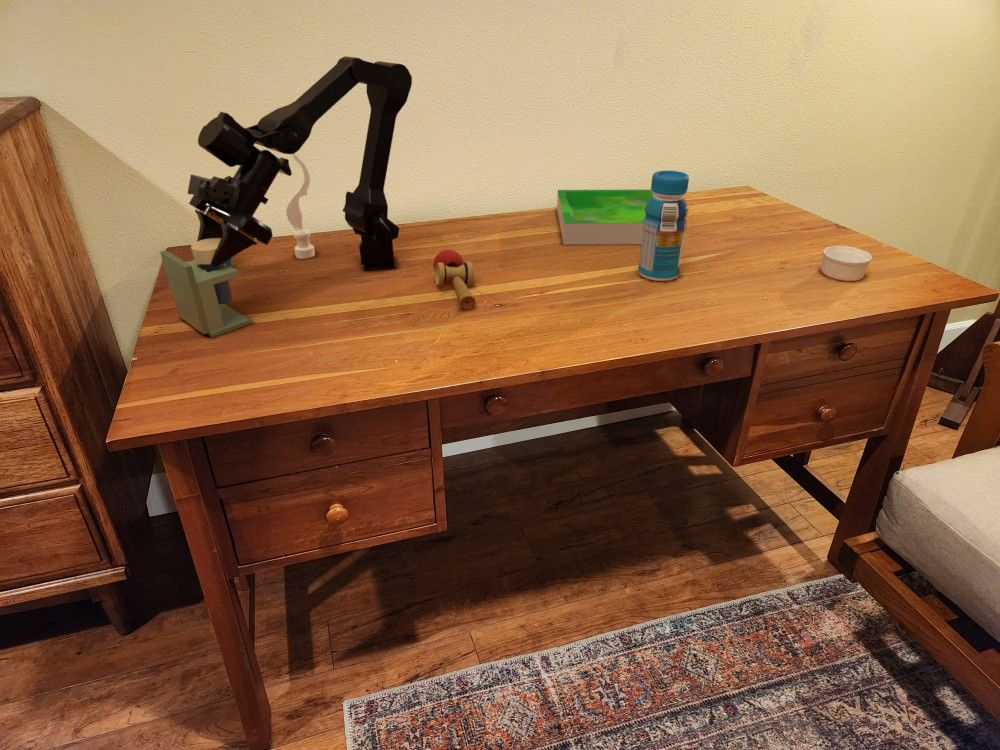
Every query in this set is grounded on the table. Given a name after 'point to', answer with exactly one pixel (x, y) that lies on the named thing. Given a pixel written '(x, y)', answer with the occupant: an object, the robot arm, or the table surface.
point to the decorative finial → (300, 217)
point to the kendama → (455, 275)
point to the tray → (602, 216)
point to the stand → (201, 295)
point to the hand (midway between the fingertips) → (205, 261)
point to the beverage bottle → (664, 226)
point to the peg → (204, 255)
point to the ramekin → (845, 262)
